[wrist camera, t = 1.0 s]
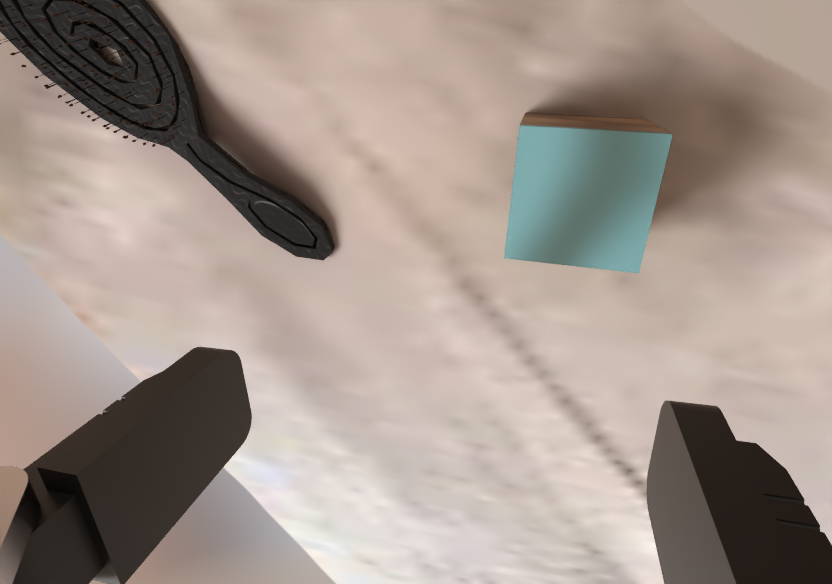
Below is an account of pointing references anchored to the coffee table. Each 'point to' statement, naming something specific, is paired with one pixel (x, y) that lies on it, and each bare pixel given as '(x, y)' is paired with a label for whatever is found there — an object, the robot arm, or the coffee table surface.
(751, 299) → the coffee table surface
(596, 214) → the two tone block
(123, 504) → the robot arm
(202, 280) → the coffee table surface
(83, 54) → the hairbrush
